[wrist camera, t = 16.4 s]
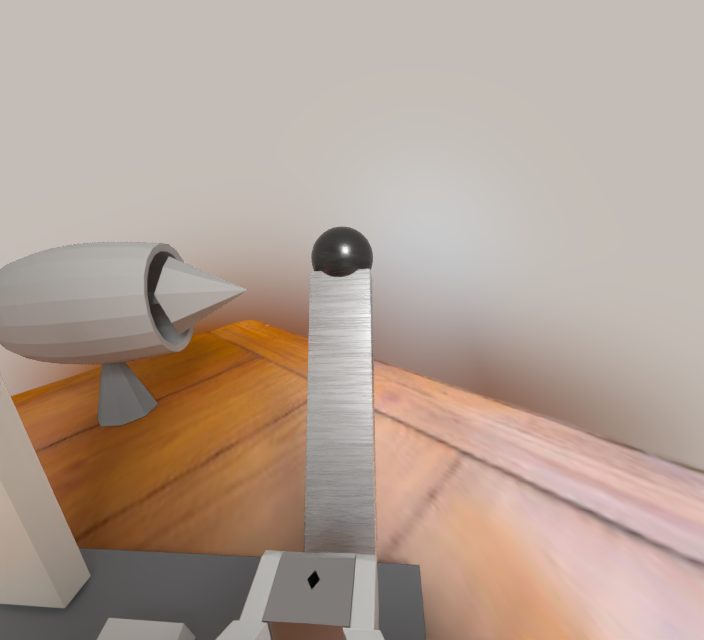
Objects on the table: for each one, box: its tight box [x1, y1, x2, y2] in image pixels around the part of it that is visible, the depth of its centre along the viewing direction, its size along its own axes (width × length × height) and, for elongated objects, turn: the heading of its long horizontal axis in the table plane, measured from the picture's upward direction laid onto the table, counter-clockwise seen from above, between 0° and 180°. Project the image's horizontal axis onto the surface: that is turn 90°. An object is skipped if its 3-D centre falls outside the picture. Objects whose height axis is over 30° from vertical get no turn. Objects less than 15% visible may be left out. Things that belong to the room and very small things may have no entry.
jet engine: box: [0, 242, 247, 426], centre depth 33 cm, size 15×20×18 cm
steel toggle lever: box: [304, 227, 379, 630], centre depth 13 cm, size 3×4×19 cm
